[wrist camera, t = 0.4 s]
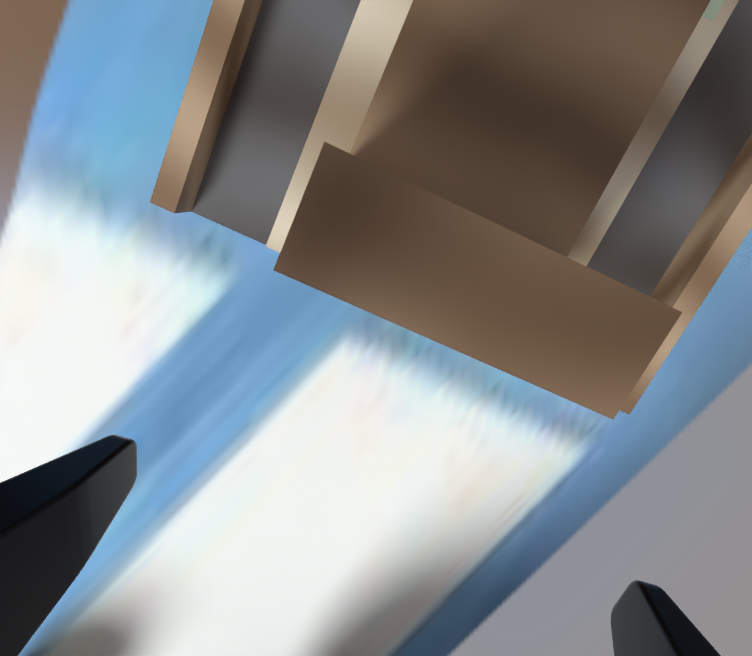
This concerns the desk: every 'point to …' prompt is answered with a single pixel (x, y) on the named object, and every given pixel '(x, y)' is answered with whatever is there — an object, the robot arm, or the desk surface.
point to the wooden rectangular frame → (354, 95)
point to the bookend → (498, 187)
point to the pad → (712, 9)
